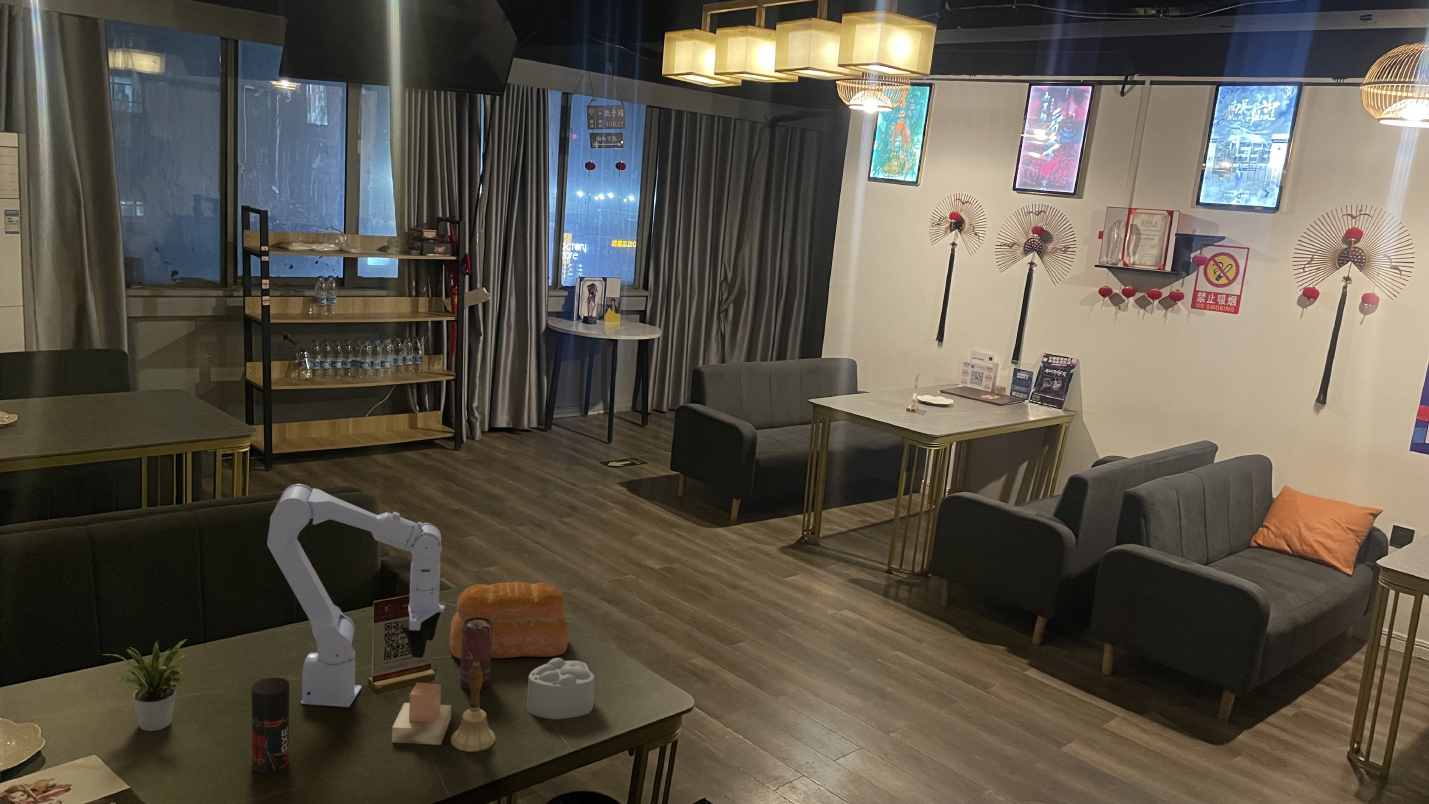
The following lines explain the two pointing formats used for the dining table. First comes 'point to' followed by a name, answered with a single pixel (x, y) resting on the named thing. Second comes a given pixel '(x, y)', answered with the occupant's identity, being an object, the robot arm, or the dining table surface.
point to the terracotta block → (425, 702)
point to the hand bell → (474, 719)
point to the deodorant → (270, 724)
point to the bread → (514, 618)
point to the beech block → (421, 727)
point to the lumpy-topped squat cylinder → (560, 690)
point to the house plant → (154, 688)
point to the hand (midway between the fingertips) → (422, 647)
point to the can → (476, 649)
